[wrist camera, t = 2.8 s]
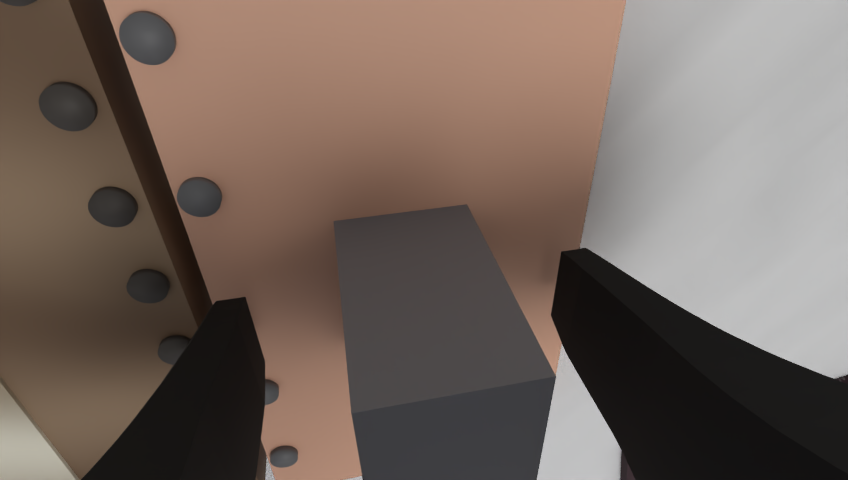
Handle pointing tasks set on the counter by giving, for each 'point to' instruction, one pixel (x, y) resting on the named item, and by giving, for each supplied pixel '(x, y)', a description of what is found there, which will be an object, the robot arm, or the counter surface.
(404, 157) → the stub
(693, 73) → the counter surface
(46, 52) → the board
